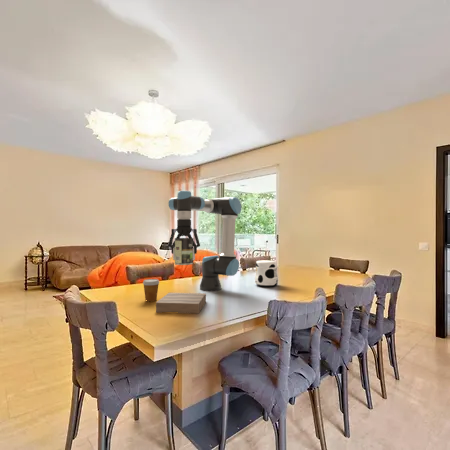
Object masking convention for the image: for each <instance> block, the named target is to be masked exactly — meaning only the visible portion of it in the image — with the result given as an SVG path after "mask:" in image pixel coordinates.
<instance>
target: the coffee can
mask: <svg viewBox="0 0 450 450" xmlns="http://www.w3.org/2000/svg"><path fill="white" fill-rule="evenodd" d="M193 240H195V237H192V238H188V237H180V238H179V239H178V238H176V237H175V238H174V241H175V247H174V248H175V260H174V265H177V266H189V265H194V260H193V248H194V246H193V245H192V241H193Z"/></svg>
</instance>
